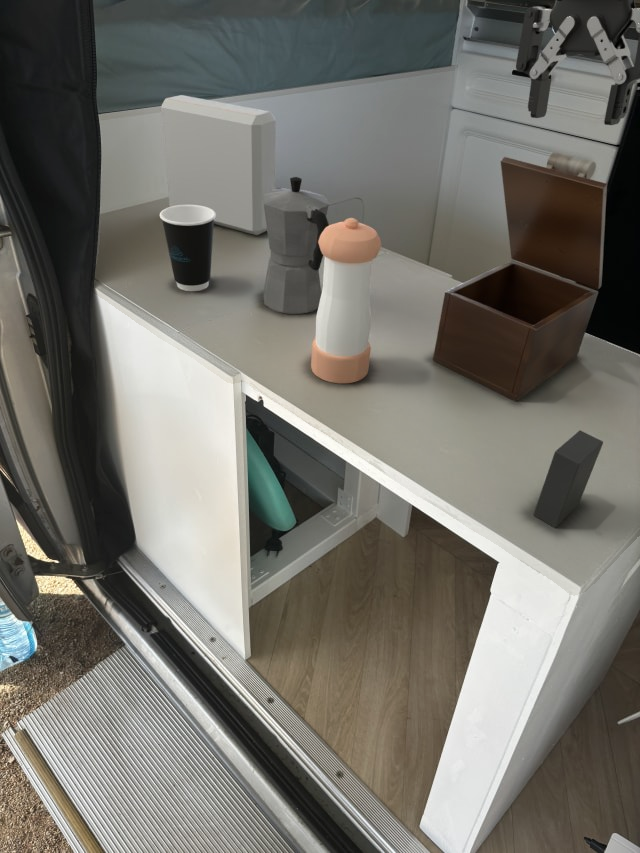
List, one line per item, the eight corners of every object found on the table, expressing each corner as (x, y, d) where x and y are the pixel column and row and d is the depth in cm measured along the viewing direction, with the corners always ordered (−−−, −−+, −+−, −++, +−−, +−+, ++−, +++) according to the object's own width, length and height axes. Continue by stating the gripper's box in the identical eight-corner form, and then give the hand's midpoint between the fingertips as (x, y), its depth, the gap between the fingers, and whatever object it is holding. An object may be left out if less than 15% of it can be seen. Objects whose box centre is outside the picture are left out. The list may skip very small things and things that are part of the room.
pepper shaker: (302, 375, 81) (308, 223, 70) (322, 348, 87) (331, 204, 75) (358, 389, 79) (374, 235, 68) (375, 361, 85) (392, 214, 74)
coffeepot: (245, 288, 100) (243, 167, 89) (299, 278, 104) (303, 160, 93) (291, 333, 90) (295, 201, 79) (349, 320, 94) (360, 193, 83)
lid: (603, 188, 69) (630, 154, 70) (500, 160, 75) (526, 130, 76) (598, 290, 82) (620, 260, 83) (511, 259, 89) (533, 232, 90)
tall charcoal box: (580, 503, 65) (605, 440, 60) (555, 528, 62) (579, 464, 57) (558, 491, 66) (581, 428, 61) (532, 515, 63) (554, 451, 58)
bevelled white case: (281, 226, 122) (283, 110, 110) (257, 239, 117) (256, 118, 105) (193, 203, 130) (185, 92, 118) (166, 213, 125) (155, 98, 113)
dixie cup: (219, 274, 104) (216, 204, 97) (218, 296, 98) (214, 223, 91) (168, 273, 103) (162, 203, 97) (164, 295, 97) (156, 222, 90)
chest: (516, 401, 79) (536, 329, 73) (432, 360, 86) (444, 291, 80) (576, 358, 88) (598, 291, 82) (496, 324, 95) (512, 260, 89)
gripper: (700, -72, 59) (654, 122, 68) (557, -60, 68) (532, 111, 77) (666, -77, 55) (621, 132, 64) (518, -63, 64) (496, 118, 73)
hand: (573, 120), depth 70 cm, fingers open, 8 cm apart
